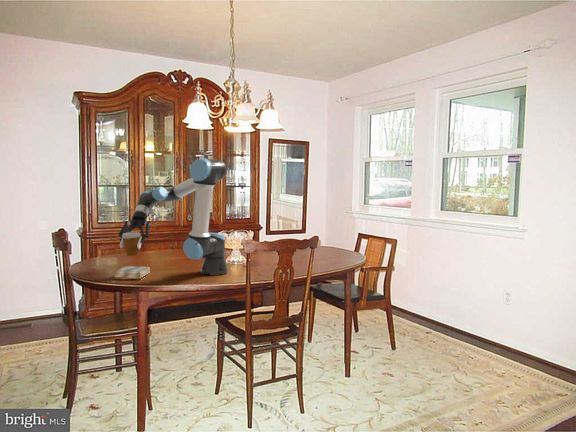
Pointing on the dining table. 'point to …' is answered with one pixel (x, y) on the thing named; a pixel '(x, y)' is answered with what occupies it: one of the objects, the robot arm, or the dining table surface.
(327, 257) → the dining table surface
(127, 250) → the disposable coffee cup
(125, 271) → the birch base block
